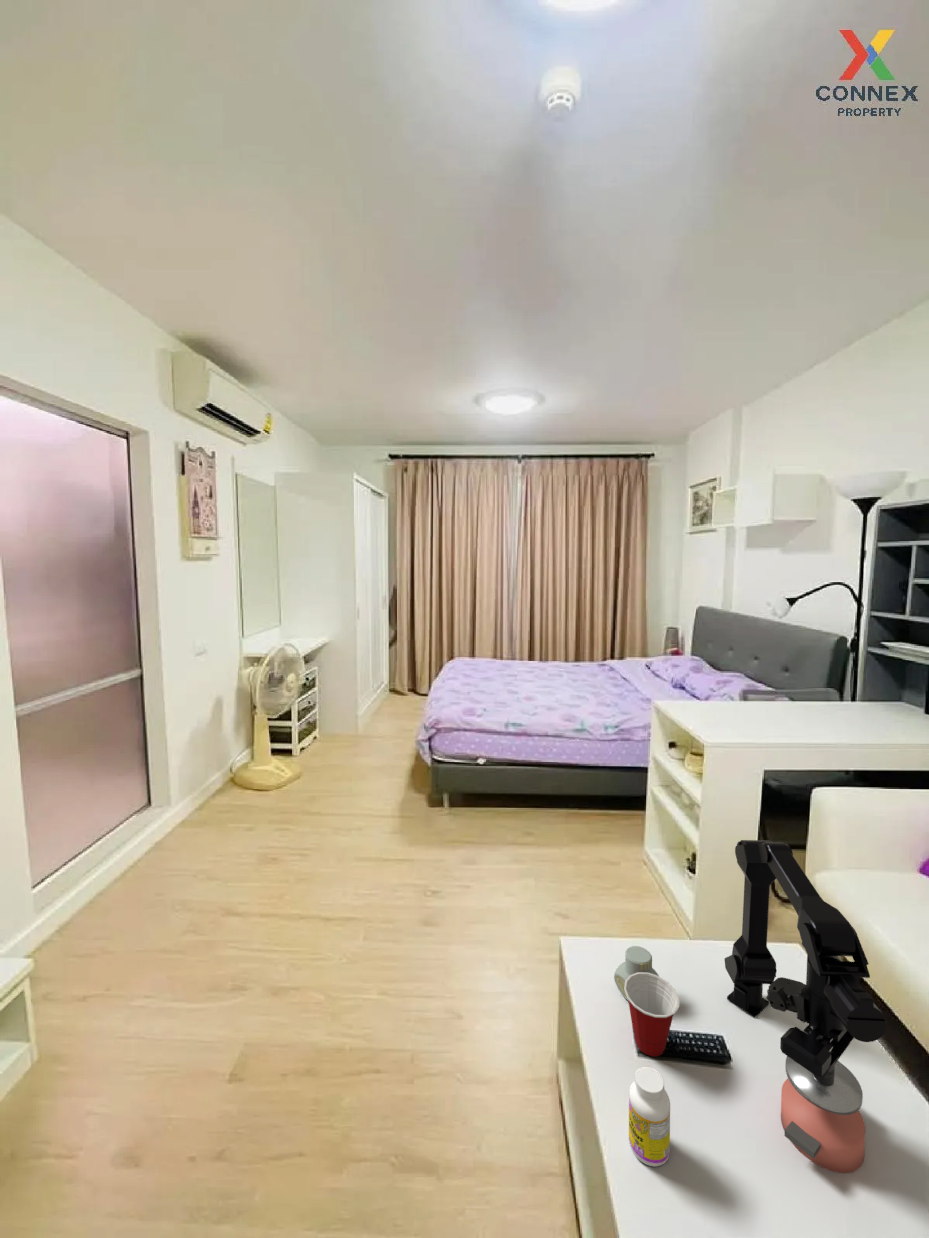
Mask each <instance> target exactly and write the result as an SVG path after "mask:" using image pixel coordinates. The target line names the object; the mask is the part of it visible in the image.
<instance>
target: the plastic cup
mask: <svg viewBox="0 0 929 1238" xmlns="http://www.w3.org/2000/svg"><path fill="white" fill-rule="evenodd" d="M624 990H625V993H626V996H627V999H628V1000H627V999H626V1000H627V1004H628V1007H629V1014H630V1021H631V1026H632V1029H633V1034H634V1041H635V1044H636V1046H637V1048H638V1049H639V1050H640V1052H642V1053H643V1054H645V1055H646V1056H650V1057H659V1056H661V1055H663V1054H664V1052H665V1050H666V1047H667V1042H668V1038H669V1035H670V1030H671V1026H672V1021H673V1017H674V1015H675V1013H676V1012H677V1011H678V1009H679V1008H680V997H679V995H678V993H677V991H676V989H675V987H673V986H672V984H670V982H669V981H667V980H666V979H664V978H663V977H661V976H660V975H659V976H657V975H654V974H651V973H647V972H638V973H635V974H632V975H630V976H629V977H628V978H627V979H626V981H625V986H624ZM663 1051H664V1052H663Z"/></svg>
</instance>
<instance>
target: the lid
mask: <svg viewBox="0 0 929 1238" xmlns="http://www.w3.org/2000/svg"><path fill="white" fill-rule="evenodd" d="M831 1052H832V1053H834V1054H835V1052H834V1050H833V1049H832V1050H831ZM784 1066H785V1074H786V1077H787V1079H789V1081H790V1083H791V1084H792V1086H793V1087H794V1088H795V1089H796V1091H797V1092H798V1093H799V1094H800V1095H801V1096H803V1097H804V1098H805V1099H806V1100H807V1101H809V1102H810V1103H812V1104H813V1105H815V1106H817V1107H818V1108H821V1109H823V1110H825V1111H827V1112H830V1113H834V1114H839V1115H850V1114H853V1113H856V1112H857V1111H858V1110H859V1111H860V1109H861V1107H862V1105H863V1100H864V1099H863V1098H864V1096H863V1089H862V1085H861V1084H860V1082H859V1080H858V1078H857V1077H856V1076H855V1075H854V1073H853V1072H851V1070H850V1069H849V1068H848V1067H847V1066H845V1065H844V1064H843V1063H842V1062H840V1061H839V1060H838V1061H837V1062H836V1063H834V1065H833V1066H832V1067H831V1069H830V1070H829V1072H828V1073H827V1075H826V1076H825V1077H824V1079H823V1080H822V1082H820V1081H819V1080H817V1079H816V1078H815V1077H814V1075H813V1073H811V1072H810V1071H808V1070H807V1069H805V1068H804V1067H803V1066H801V1065H800V1064H798V1063H797V1062H795V1061H794V1060H792V1059H791V1058H790V1057H788V1056H787V1055H786V1058H785V1065H784Z"/></svg>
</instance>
